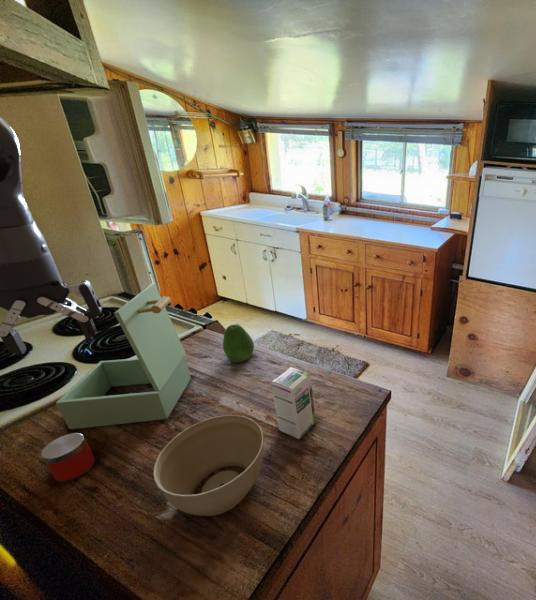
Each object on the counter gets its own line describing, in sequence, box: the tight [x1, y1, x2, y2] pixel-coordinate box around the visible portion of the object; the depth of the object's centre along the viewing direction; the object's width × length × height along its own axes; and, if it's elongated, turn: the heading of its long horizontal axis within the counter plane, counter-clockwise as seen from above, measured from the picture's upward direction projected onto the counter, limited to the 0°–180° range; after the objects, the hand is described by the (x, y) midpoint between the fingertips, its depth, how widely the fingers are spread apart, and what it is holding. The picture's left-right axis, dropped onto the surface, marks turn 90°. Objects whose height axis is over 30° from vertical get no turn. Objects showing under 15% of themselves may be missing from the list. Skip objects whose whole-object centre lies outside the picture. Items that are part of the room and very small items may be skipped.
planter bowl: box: [153, 414, 265, 517], centre depth 57 cm, size 16×16×11 cm
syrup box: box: [270, 366, 317, 440], centre depth 70 cm, size 6×6×14 cm
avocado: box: [222, 323, 255, 363], centre depth 93 cm, size 8×8×12 cm
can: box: [40, 432, 96, 483], centre depth 60 cm, size 6×6×7 cm
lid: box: [113, 283, 186, 392], centre depth 72 cm, size 19×15×5 cm
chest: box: [55, 354, 192, 430], centre depth 76 cm, size 19×15×8 cm
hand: (57, 345), depth 56 cm, fingers open, 8 cm apart
